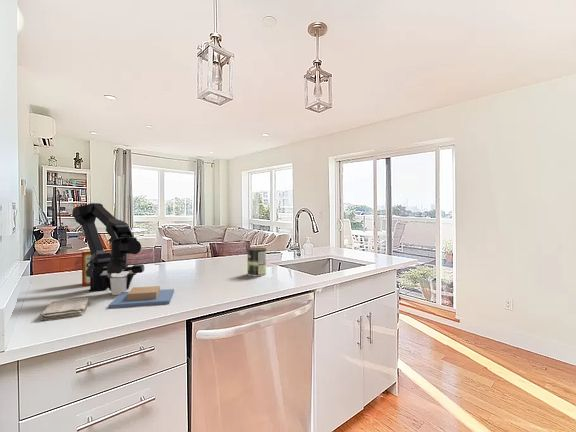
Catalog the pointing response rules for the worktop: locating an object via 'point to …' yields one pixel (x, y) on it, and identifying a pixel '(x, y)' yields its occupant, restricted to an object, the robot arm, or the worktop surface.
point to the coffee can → (256, 261)
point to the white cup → (118, 284)
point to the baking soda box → (86, 266)
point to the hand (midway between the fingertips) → (119, 290)
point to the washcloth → (65, 309)
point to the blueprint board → (147, 302)
